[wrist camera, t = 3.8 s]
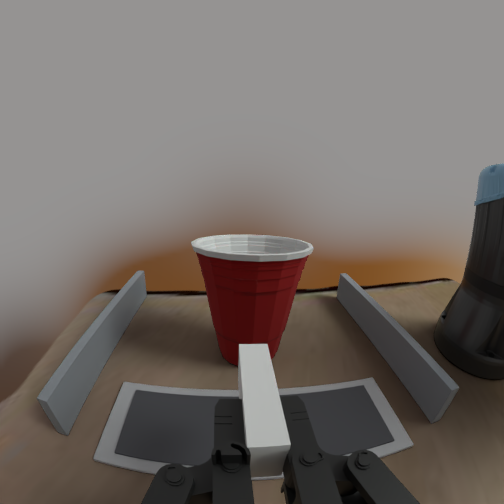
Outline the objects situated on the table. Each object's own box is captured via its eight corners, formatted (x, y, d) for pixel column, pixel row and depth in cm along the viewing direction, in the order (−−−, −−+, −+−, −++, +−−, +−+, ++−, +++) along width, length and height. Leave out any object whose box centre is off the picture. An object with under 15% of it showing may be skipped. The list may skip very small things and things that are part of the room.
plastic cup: (287, 323, 33) (296, 228, 30) (311, 379, 23) (332, 256, 19) (200, 323, 32) (197, 226, 29) (191, 383, 22) (181, 254, 18)
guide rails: (342, 297, 41) (346, 273, 39) (439, 420, 15) (459, 387, 14) (140, 295, 38) (137, 270, 37) (58, 432, 13) (36, 398, 12)
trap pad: (371, 379, 22) (373, 375, 22) (412, 446, 13) (415, 443, 13) (124, 383, 20) (123, 379, 20) (94, 460, 12) (92, 457, 11)
